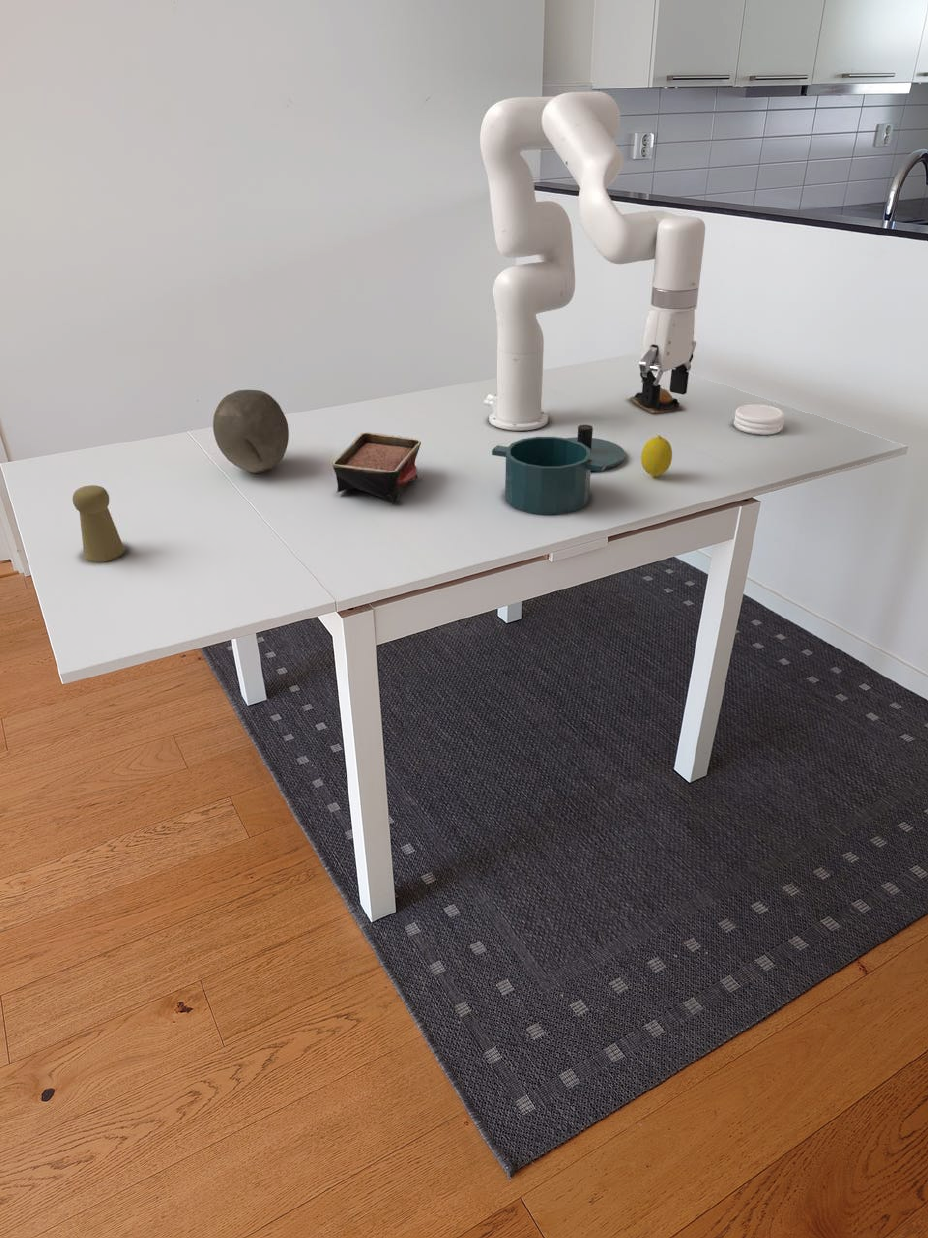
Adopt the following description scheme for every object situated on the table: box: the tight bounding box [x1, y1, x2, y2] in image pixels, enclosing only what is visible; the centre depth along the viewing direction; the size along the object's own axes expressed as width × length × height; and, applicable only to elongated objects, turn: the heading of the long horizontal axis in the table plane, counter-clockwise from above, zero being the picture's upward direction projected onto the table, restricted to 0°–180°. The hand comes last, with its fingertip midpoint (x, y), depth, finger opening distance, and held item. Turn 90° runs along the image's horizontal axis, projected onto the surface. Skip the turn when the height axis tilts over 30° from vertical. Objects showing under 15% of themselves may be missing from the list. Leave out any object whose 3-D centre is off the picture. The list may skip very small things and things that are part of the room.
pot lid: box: [565, 424, 626, 469], centre depth 171 cm, size 16×16×6 cm
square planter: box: [332, 432, 422, 505], centre depth 159 cm, size 14×18×10 cm
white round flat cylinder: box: [733, 403, 786, 436], centre depth 185 cm, size 10×10×4 cm
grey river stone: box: [212, 389, 290, 474], centre depth 165 cm, size 14×14×15 cm
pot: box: [491, 436, 607, 516], centre depth 155 cm, size 15×20×8 cm
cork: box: [72, 484, 126, 563], centre depth 137 cm, size 6×6×11 cm
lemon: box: [640, 435, 673, 478], centre depth 162 cm, size 6×6×8 cm
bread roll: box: [629, 387, 683, 415], centre depth 198 cm, size 11×8×4 cm
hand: (663, 399), depth 156 cm, fingers open, 9 cm apart
